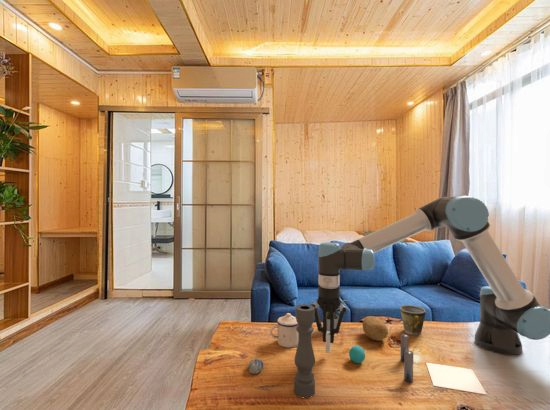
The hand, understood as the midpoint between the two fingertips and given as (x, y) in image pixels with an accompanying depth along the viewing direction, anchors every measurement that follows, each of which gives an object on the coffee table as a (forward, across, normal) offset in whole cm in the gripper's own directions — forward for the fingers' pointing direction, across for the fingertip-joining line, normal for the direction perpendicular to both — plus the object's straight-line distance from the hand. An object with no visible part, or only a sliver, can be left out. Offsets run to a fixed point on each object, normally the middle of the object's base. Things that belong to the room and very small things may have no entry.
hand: (328, 350), depth 110 cm
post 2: (+2, +26, -6) cm, 27 cm away
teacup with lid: (+3, -18, +6) cm, 19 cm away
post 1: (+2, +26, +6) cm, 27 cm away
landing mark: (+2, +40, 0) cm, 40 cm away
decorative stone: (+3, -22, -15) cm, 27 cm away
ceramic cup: (+3, +32, +32) cm, 45 cm away
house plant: (+3, -2, +22) cm, 22 cm away
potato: (+3, +16, +22) cm, 27 cm away
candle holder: (+3, -4, -22) cm, 23 cm away
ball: (0, +10, 0) cm, 10 cm away
